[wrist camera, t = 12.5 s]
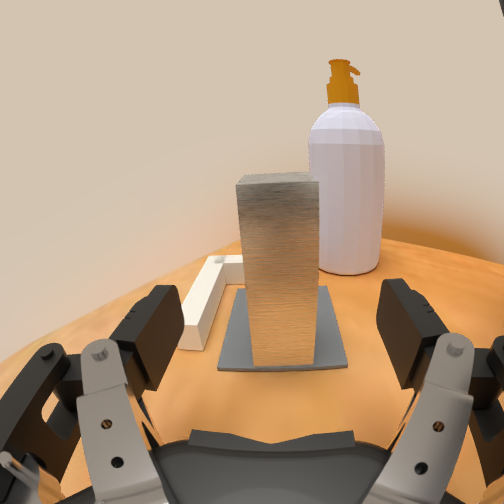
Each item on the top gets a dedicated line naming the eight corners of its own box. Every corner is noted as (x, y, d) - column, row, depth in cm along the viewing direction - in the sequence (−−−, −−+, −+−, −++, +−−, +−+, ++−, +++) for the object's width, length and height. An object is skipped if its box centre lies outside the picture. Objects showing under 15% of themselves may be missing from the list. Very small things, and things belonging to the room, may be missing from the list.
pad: (326, 288, 27) (326, 285, 27) (347, 367, 17) (348, 364, 17) (237, 291, 28) (237, 288, 28) (217, 370, 18) (216, 367, 18)
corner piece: (299, 273, 31) (299, 252, 30) (309, 350, 19) (311, 324, 18) (211, 276, 32) (208, 256, 31) (179, 349, 20) (171, 324, 19)
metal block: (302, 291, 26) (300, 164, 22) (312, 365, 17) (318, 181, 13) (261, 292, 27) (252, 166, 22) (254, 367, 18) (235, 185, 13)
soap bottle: (389, 254, 33) (389, 69, 24) (360, 284, 27) (357, 45, 18) (335, 241, 39) (329, 74, 30) (296, 263, 33) (284, 59, 24)
